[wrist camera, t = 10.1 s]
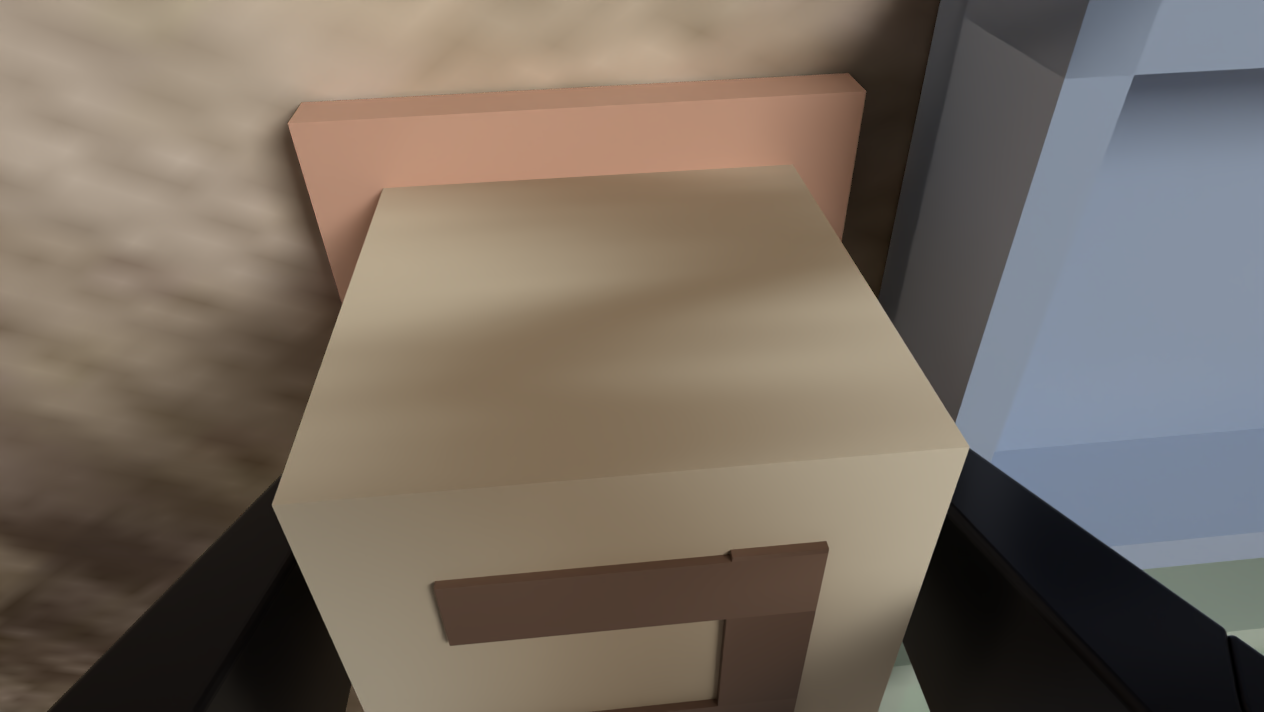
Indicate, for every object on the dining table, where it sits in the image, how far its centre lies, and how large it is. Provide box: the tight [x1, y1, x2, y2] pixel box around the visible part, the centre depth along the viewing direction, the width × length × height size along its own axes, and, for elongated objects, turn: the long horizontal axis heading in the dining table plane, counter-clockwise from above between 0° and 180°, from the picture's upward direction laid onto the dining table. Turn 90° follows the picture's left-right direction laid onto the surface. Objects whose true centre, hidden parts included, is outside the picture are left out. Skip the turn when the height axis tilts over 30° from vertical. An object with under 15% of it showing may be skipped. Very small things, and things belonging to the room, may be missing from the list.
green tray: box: [878, 558, 1264, 712], centre depth 16 cm, size 13×8×2 cm, turn 91°
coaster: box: [288, 73, 866, 304], centre depth 10 cm, size 6×6×1 cm
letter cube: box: [272, 164, 970, 712], centre depth 8 cm, size 4×4×5 cm
